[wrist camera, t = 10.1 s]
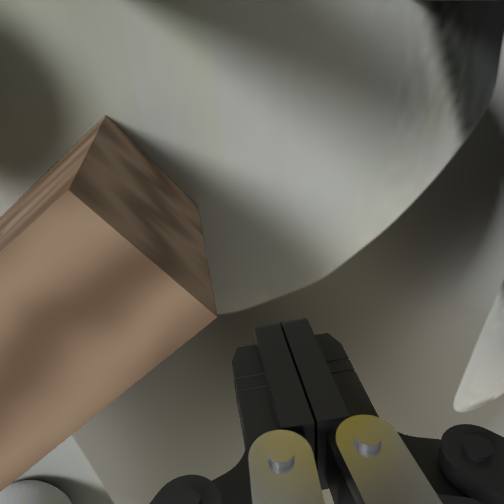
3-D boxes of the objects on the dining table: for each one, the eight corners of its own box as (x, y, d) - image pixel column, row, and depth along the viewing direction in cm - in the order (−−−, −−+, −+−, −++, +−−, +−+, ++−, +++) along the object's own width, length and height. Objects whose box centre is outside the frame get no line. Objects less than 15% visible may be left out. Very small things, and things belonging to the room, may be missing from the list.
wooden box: (197, 206, 40) (217, 317, 26) (22, 359, 44) (-44, 527, 30) (105, 115, 35) (68, 190, 21) (-81, 295, 39) (-215, 458, 25)
